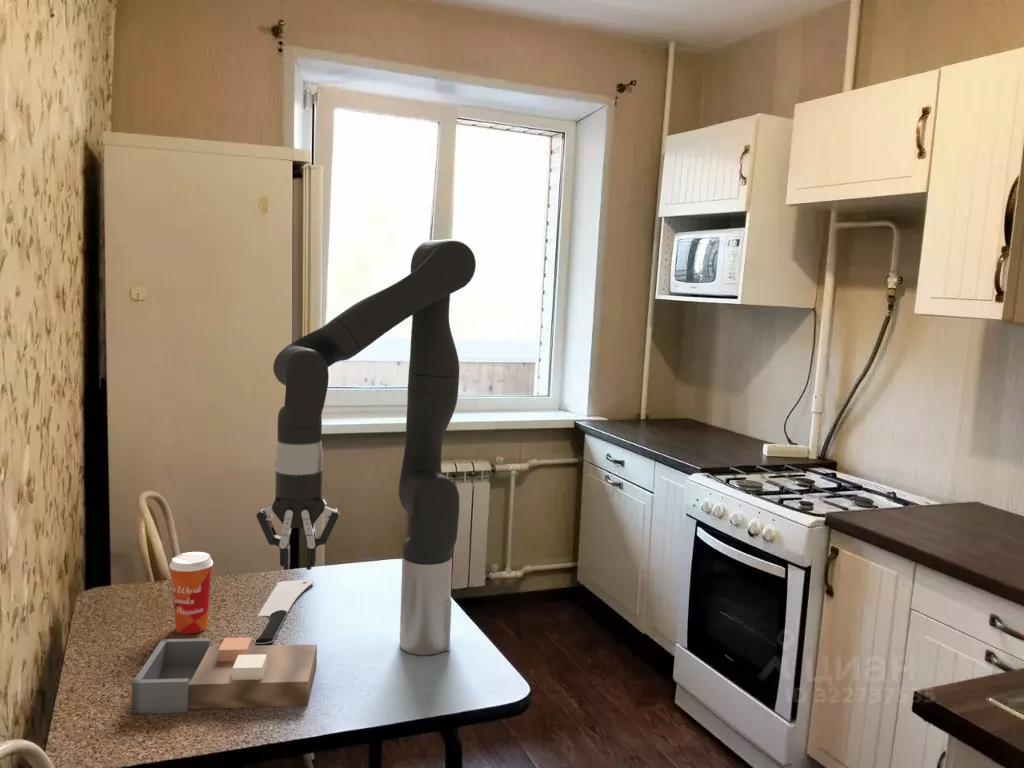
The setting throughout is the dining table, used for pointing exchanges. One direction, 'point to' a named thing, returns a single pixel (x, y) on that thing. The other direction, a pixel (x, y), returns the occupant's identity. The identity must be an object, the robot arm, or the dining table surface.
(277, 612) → the kitchen cleaver
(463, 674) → the dining table surface
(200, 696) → the walnut board
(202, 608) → the paper cup
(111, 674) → the dining table surface
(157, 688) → the box
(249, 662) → the cream block
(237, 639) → the terracotta tile
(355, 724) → the dining table surface
